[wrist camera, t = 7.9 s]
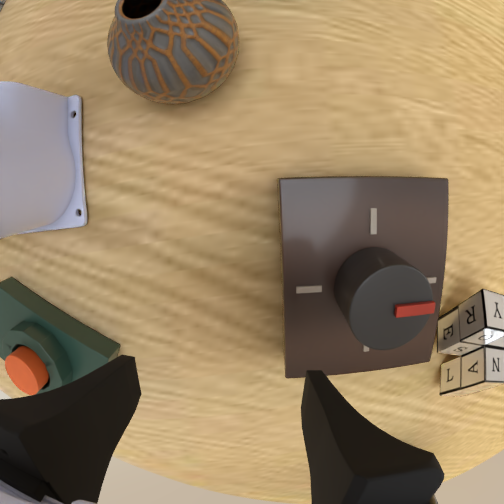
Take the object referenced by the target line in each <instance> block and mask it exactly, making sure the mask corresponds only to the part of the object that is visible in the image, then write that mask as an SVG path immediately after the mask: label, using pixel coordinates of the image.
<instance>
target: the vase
mask: <svg viewBox="0 0 504 504" xmlns="http://www.w3.org/2000/svg"><path fill="white" fill-rule="evenodd" d="M107 46H108V54H109V58H110V62H111V64H112V67H113V69H114V71H115V72H116V74H117V76H118V77H119V79H120V80H121V81H122V82H123V83H124V84H125V85H126V86H127V87H128V88H129V89H130V90H132V91H133V92H135V93H136V94H138V95H140V96H142V97H144V98H146V99H149V100H152V101H155V102H159V103H166V104H180V103H186V102H190V101H194V100H197V99H199V98H202V97H204V96H206V95H208V94H209V93H211V92H212V91H214V90H215V89H216V88H218V87H219V86H220V85H221V84H222V83H223V82H224V81H225V79H226V78H227V77H228V76H229V74H230V72H231V71H232V69H233V67H234V65H235V62H236V59H237V56H238V51H239V34H238V28H237V24H236V21H235V19H234V16H233V14H232V13H231V11H230V10H229V8H228V7H227V5H226V4H225V3H224V2H223V1H222V0H118V1H117V3H116V6H115V17H114V19H113V21H112V24H111V27H110V30H109V34H108V42H107Z"/></svg>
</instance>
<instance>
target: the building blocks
mask: <svg viewBox="0 0 504 504" xmlns="http://www.w3.org/2000/svg"><path fill="white" fill-rule="evenodd" d="M437 353H444V354H451V355H458V356H460V357H458V358H456V359H453V360H451V361H448V362H446V363H443V364H441V379H440V396H460V397H462V396H465V395H469V394H473V393H476V392H480V391H483V390H486V389H490V388H493V387H496V386H499V385H502V384H504V295H501V294H498V293H495V292H492V291H489V290H486V289H482V290H480V291H479V292H477V293H476V294H474V295H473V296H471V297H470V298H468V299H467V300H465V301H464V302H462V303H461V304H459V305H458V306H456V307H455V308H453V309H452V310H450V311H448V312H447V313H445V314H444V315H442V316H440V317H439V318H438V322H437Z"/></svg>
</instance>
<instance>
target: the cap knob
mask: <svg viewBox="0 0 504 504" xmlns="http://www.w3.org/2000/svg"><path fill="white" fill-rule="evenodd" d="M334 292H335V298H336V301H337V303H338V305H339V307H340V309H341V311H342V313H343V315H344V317H345V319H346V321H347V323H348V325H349V327H350V329H351V331H352V333H353V335H354V336H355V338H356V339H357V340H358V341H359V342H360V343H361V344H363V345H364V346H366V347H368V348H371V349H375V350H391V349H395V348H398V347H401V346H403V345H405V344H406V343H408V342H410V341H411V340H412V339H414V338H415V337H416V336H417V335H418V334H419V333H420V332H421V330H422V329H423V328H424V326H425V324H426V323H427V321H428V319H429V317H430V314H432V313H434V310H435V302H434V301H433V294H432V289H431V285H430V283H429V281H428V279H427V278H426V276H425V275H424V274H423V273H422V272H421V271H420V270H418V269H417V268H416V267H414V266H413V265H411V264H410V263H408V262H407V261H405V260H404V259H402V258H401V257H399V256H398V255H396V254H395V253H393V252H392V251H390V250H388V249H385V248H380V247H370V248H365V249H362V250H360V251H358V252H356V253H354V254H353V255H351V256H350V257H349V258H348V259H347V260H346V261H345V262H344V263H343V265H342V266H341V268H340V269H339V271H338V274H337V276H336V280H335V286H334Z"/></svg>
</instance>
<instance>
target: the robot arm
mask: <svg viewBox="0 0 504 504" xmlns="http://www.w3.org/2000/svg"><path fill="white" fill-rule="evenodd" d="M75 112H76V116H75V117H73V116H74V113H75ZM79 209H80V210H81V212H82V213H81V216H80V215H79ZM87 219H88V218H87V210H86V200H85V189H84V176H83V159H82V99H81V97H80V96H78V95H73V96H70V97H65V96H62V95H59V94H56V93H52V92H49V91H46V90H42V89H39V88H36V87H32V86H29V85H25V84H22V83H17V82H9V81H1V82H0V239H2V238H5V237H8V236H11V235H15V234H24V233H32V232H40V231H49V230H57V229H66V228H75V227H82V226H85V225H86V224H87ZM140 396H141V390H140V385H139V379H138V374H137V368H136V363H135V357H132V356H126V355H121V356H119V357H117V358H115V359H113V360H111V361H110V362H108V363H106V364H104V365H103V366H101V367H99V368H97V369H96V370H94V371H92V372H90V373H89V374H87V375H85V376H83V377H81V378H79V379H77V380H75V381H73V382H71V383H68V384H66V385H64V386H61V387H59V388H56V389H53V390H50V391H47V392H43V393H39V394H36V395H32V396H27V397H21V398H14V399H1V400H0V504H97V502H98V498H99V494H100V491H101V487H102V483H103V480H104V477H105V474H106V471H107V468H108V465H109V462H110V460H111V457H112V454H113V452H114V450H115V448H116V446H117V444H118V442H119V440H120V439H121V437H122V435H123V433H124V431H125V429H126V427H127V426H128V424H129V422H130V420H131V418H132V416H133V414H134V412H135V410H136V407H137V405H138V402H139V399H140ZM301 417H302V430H303V435H304V441H305V446H306V452H307V457H308V463H309V468H310V476H311V495H312V504H430V501H429V500H430V499H431V498H432V496H433V495H434V493H435V492H436V491H437V489H438V488H439V487H440V485H441V483H442V481H443V479H444V473H443V471H442V469H441V466H440V464H439V462H438V460H437V459H436V457H435V455H434V454H433V453H431V452H428V451H425V450H422V449H419V448H416V447H414V446H411V445H409V444H407V443H405V442H402V441H400V440H398V439H396V438H394V437H393V436H391V435H389V434H387V433H386V432H384V431H382V430H381V429H379V428H378V427H376V426H375V425H373V424H372V423H371V422H370V421H368V420H367V419H366V418H364V417H363V416H362V415H361V414H360V413H358V412H357V411H356V410H355V409H354V408H353V407H352V406H351V405H350V404H349V403H348V402H347V401H346V399H345V398H344V397H343V396H342V395H341V394H340V393H339V392H338V390H337V389H336V388H335V387H334V385H333V384H332V383H331V382H330V380H329V379H328V378H327V376H326V375H325V374H324V372H323V371H322V370H307V371H306V378H305V385H304V391H303V398H302V404H301Z"/></svg>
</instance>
